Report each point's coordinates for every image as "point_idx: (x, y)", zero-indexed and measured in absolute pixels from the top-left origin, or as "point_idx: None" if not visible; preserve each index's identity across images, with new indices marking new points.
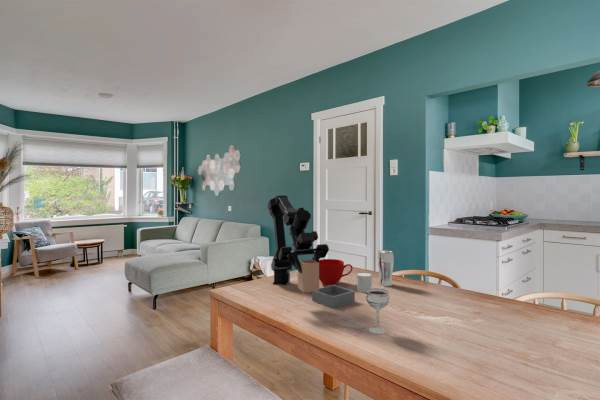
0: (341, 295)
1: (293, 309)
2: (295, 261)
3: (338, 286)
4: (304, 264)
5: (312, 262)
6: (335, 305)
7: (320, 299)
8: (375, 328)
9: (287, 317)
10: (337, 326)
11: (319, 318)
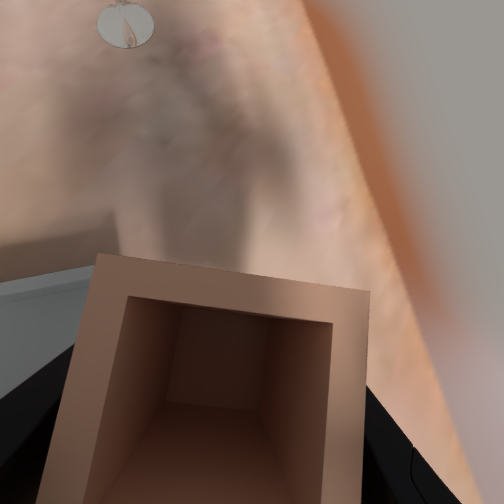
0: (29, 277)
1: None
2: (448, 499)
3: None
4: (348, 289)
5: (100, 469)
6: None
7: None
8: (130, 20)
9: (354, 277)
10: (225, 114)
11: (243, 204)
